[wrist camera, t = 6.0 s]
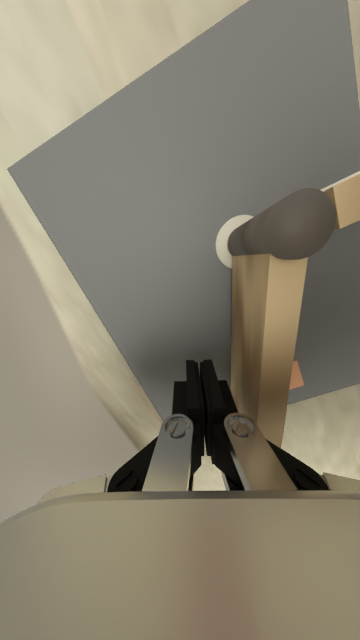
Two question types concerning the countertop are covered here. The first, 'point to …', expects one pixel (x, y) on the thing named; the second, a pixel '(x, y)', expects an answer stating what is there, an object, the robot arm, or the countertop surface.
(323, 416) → the countertop surface
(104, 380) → the countertop surface
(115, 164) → the card
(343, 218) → the bar
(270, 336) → the fence gate
